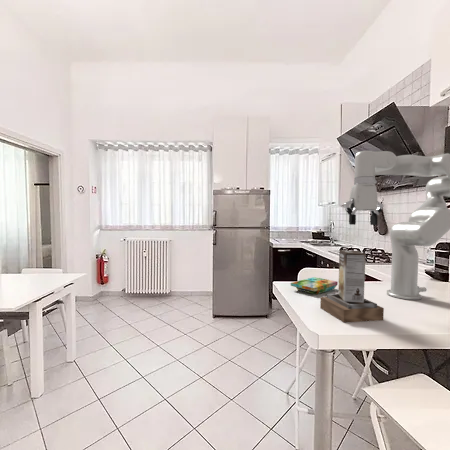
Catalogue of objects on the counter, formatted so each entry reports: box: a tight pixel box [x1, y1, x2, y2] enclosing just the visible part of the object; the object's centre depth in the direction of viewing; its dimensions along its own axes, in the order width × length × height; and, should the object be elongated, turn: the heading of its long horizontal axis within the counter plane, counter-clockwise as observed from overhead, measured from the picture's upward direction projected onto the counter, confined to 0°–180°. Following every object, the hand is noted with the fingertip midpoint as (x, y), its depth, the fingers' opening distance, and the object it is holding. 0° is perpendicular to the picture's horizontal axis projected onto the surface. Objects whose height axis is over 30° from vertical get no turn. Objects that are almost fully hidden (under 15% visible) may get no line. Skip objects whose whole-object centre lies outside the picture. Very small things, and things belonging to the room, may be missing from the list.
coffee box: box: [337, 249, 367, 303], centre depth 94 cm, size 9×6×16 cm
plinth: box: [319, 293, 385, 323], centre depth 94 cm, size 14×14×5 cm
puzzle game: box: [290, 276, 339, 295], centre depth 126 cm, size 12×5×20 cm
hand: (363, 224), depth 112 cm, fingers open, 9 cm apart
